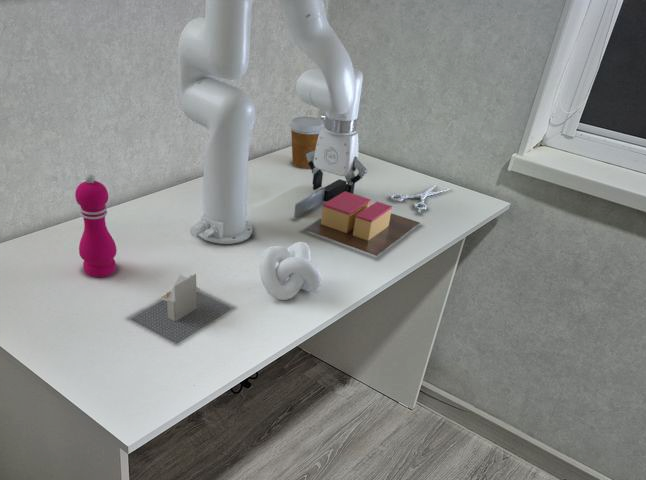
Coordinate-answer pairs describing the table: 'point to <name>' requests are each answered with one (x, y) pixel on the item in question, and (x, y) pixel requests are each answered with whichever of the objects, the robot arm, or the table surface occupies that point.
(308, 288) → the white knot sculpture
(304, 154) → the disposable coffee cup
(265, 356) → the table surface
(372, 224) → the cake slice
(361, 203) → the cake
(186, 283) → the architectural model
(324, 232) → the cake board
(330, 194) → the knife
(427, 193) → the scissors
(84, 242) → the pepper mill
